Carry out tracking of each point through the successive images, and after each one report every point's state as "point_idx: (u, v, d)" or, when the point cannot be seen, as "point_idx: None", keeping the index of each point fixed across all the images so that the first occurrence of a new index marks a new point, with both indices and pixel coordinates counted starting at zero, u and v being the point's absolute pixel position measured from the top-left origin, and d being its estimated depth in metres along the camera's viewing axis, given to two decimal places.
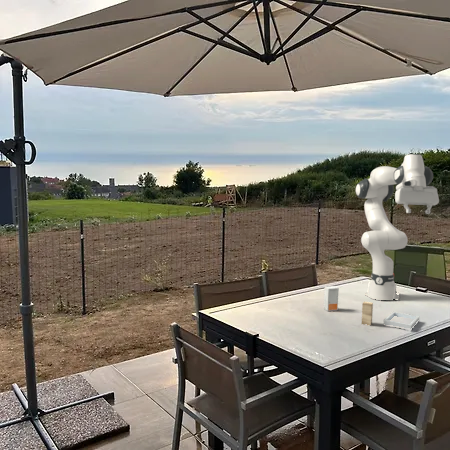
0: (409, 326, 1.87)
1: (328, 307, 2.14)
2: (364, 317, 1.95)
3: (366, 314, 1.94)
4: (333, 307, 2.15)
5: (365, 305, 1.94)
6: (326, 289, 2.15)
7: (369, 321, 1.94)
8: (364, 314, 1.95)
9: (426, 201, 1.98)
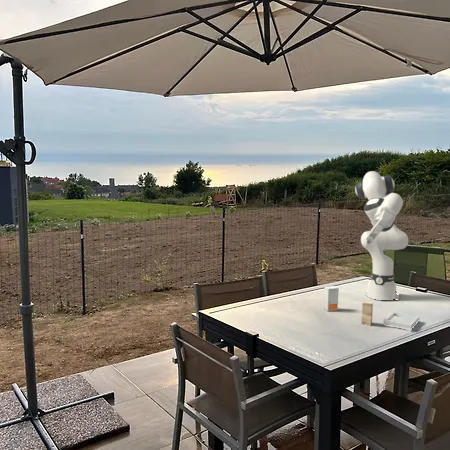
0: (409, 326, 1.87)
1: (328, 307, 2.14)
2: (364, 317, 1.95)
3: (366, 314, 1.94)
4: (333, 307, 2.15)
5: (365, 305, 1.94)
6: (326, 289, 2.15)
7: (369, 321, 1.94)
8: (364, 314, 1.95)
9: (376, 236, 2.01)
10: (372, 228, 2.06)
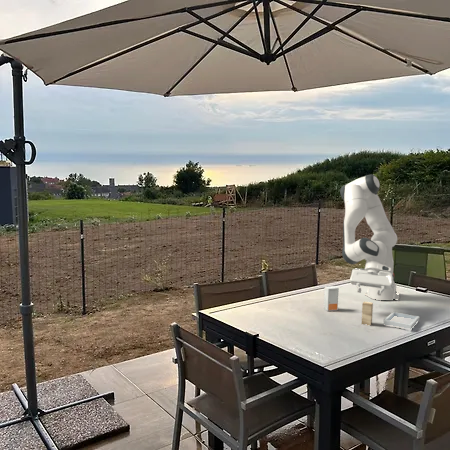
0: (409, 326, 1.87)
1: (328, 307, 2.14)
2: (364, 317, 1.95)
3: (366, 314, 1.94)
4: (333, 307, 2.15)
5: (365, 305, 1.94)
6: (326, 289, 2.15)
7: (369, 321, 1.94)
8: (364, 314, 1.95)
9: None
10: (359, 272, 2.10)
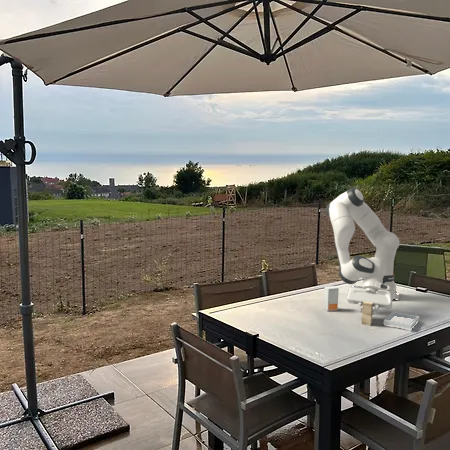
0: (409, 326, 1.87)
1: (328, 307, 2.14)
2: (364, 317, 1.95)
3: (366, 314, 1.94)
4: (333, 307, 2.15)
5: (365, 305, 1.94)
6: (326, 289, 2.15)
7: (369, 321, 1.94)
8: (364, 314, 1.95)
9: None
10: (357, 290, 2.02)
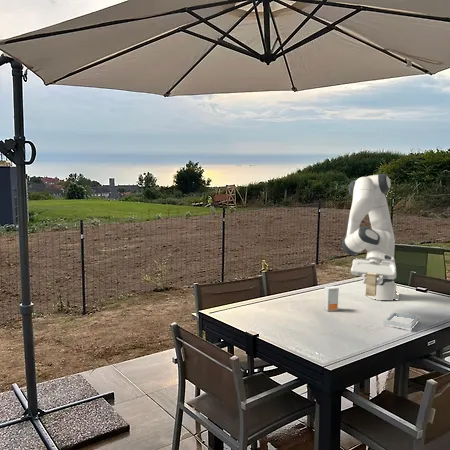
0: (409, 326, 1.87)
1: (328, 307, 2.14)
2: (368, 288, 1.93)
3: (370, 285, 1.93)
4: (333, 307, 2.15)
5: (369, 276, 1.92)
6: (326, 289, 2.15)
7: (373, 292, 1.92)
8: (368, 285, 1.93)
9: None
10: (360, 262, 2.01)
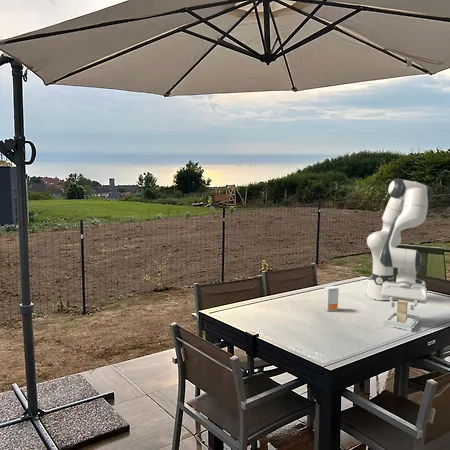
0: (409, 326, 1.87)
1: (328, 307, 2.14)
2: (399, 315, 1.95)
3: (401, 312, 1.94)
4: (333, 307, 2.15)
5: (400, 303, 1.94)
6: (326, 289, 2.15)
7: (404, 319, 1.94)
8: (399, 313, 1.95)
9: None
10: (390, 286, 2.02)
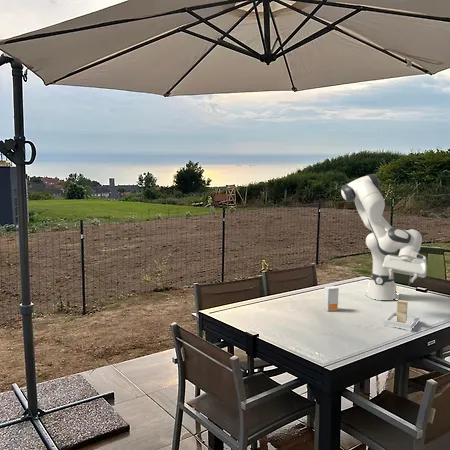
0: (409, 326, 1.87)
1: (328, 307, 2.14)
2: (399, 315, 1.95)
3: (401, 312, 1.94)
4: (333, 307, 2.15)
5: (400, 303, 1.94)
6: (326, 289, 2.15)
7: (404, 319, 1.94)
8: (399, 313, 1.95)
9: None
10: (392, 259, 2.11)
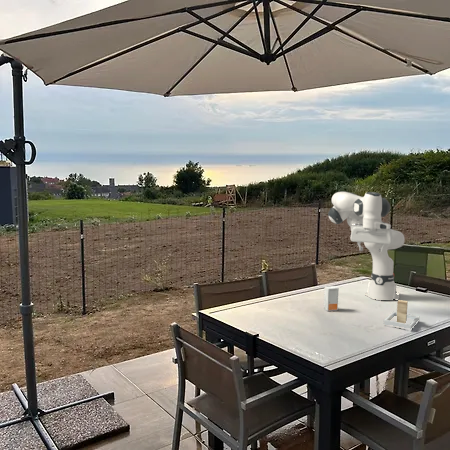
0: (409, 326, 1.87)
1: (328, 307, 2.14)
2: (399, 315, 1.95)
3: (401, 312, 1.94)
4: (333, 307, 2.15)
5: (400, 303, 1.94)
6: (326, 289, 2.15)
7: (404, 319, 1.94)
8: (399, 313, 1.95)
9: None
10: (358, 231, 2.13)
